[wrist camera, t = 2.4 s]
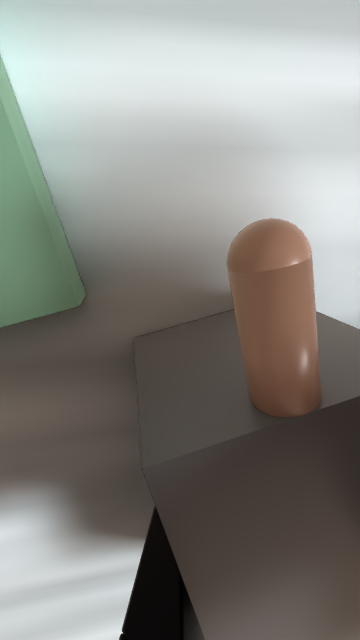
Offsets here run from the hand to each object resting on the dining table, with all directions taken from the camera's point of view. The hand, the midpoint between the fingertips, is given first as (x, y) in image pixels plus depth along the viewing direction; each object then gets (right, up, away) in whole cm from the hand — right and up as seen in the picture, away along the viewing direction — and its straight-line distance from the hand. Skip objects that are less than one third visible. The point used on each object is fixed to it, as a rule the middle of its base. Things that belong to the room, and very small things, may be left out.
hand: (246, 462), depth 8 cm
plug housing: (0, +1, +1) cm, 2 cm away
